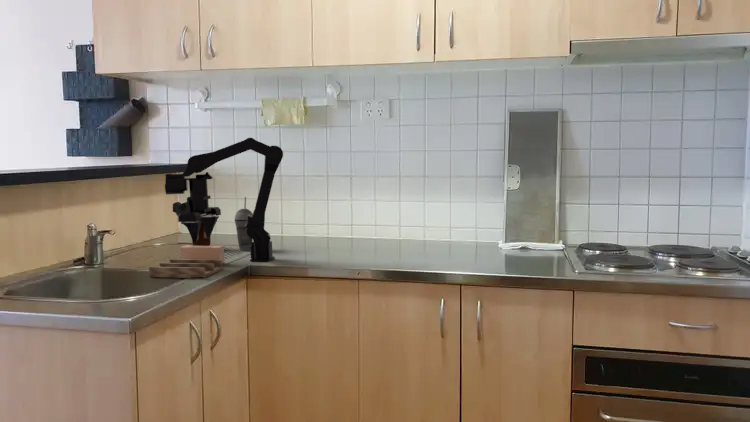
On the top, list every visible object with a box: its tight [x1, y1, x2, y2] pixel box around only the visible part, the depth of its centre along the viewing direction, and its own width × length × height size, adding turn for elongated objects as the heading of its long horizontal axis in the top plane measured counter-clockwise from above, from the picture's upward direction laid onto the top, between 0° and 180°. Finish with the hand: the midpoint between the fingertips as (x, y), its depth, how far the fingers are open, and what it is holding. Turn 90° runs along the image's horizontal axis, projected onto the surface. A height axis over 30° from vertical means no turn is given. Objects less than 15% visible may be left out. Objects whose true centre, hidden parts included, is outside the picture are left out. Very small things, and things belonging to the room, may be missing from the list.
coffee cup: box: [191, 216, 212, 246], centre depth 229 cm, size 9×8×13 cm
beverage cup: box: [234, 196, 253, 252], centre depth 225 cm, size 7×7×20 cm
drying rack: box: [148, 258, 224, 279], centre depth 188 cm, size 18×13×3 cm
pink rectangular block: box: [179, 245, 225, 264], centre depth 202 cm, size 14×4×6 cm, turn 78°
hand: (201, 239), depth 201 cm, fingers open, 9 cm apart
